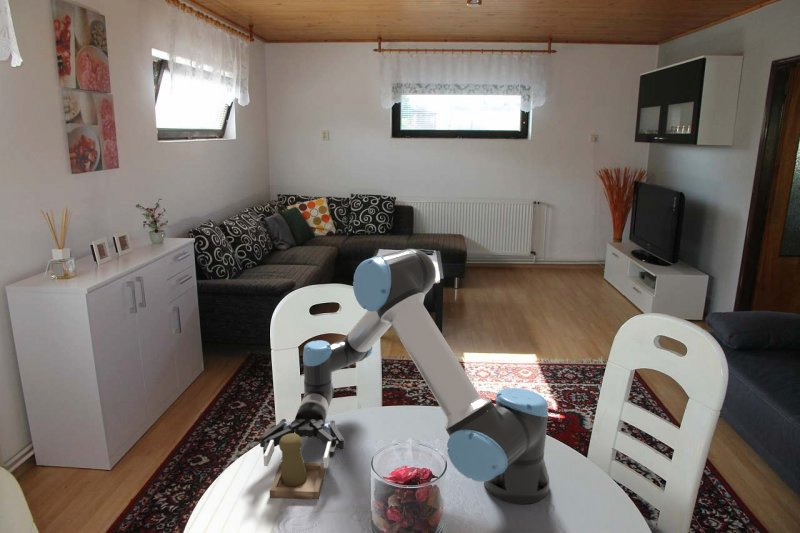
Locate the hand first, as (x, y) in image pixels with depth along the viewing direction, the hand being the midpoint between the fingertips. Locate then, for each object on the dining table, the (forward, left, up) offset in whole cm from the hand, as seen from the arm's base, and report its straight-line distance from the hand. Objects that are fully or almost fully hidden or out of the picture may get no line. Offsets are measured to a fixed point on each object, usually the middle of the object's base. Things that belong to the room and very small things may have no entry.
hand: (295, 461), depth 129 cm
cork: (+1, -3, -7) cm, 8 cm away
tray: (0, -3, -8) cm, 8 cm away
